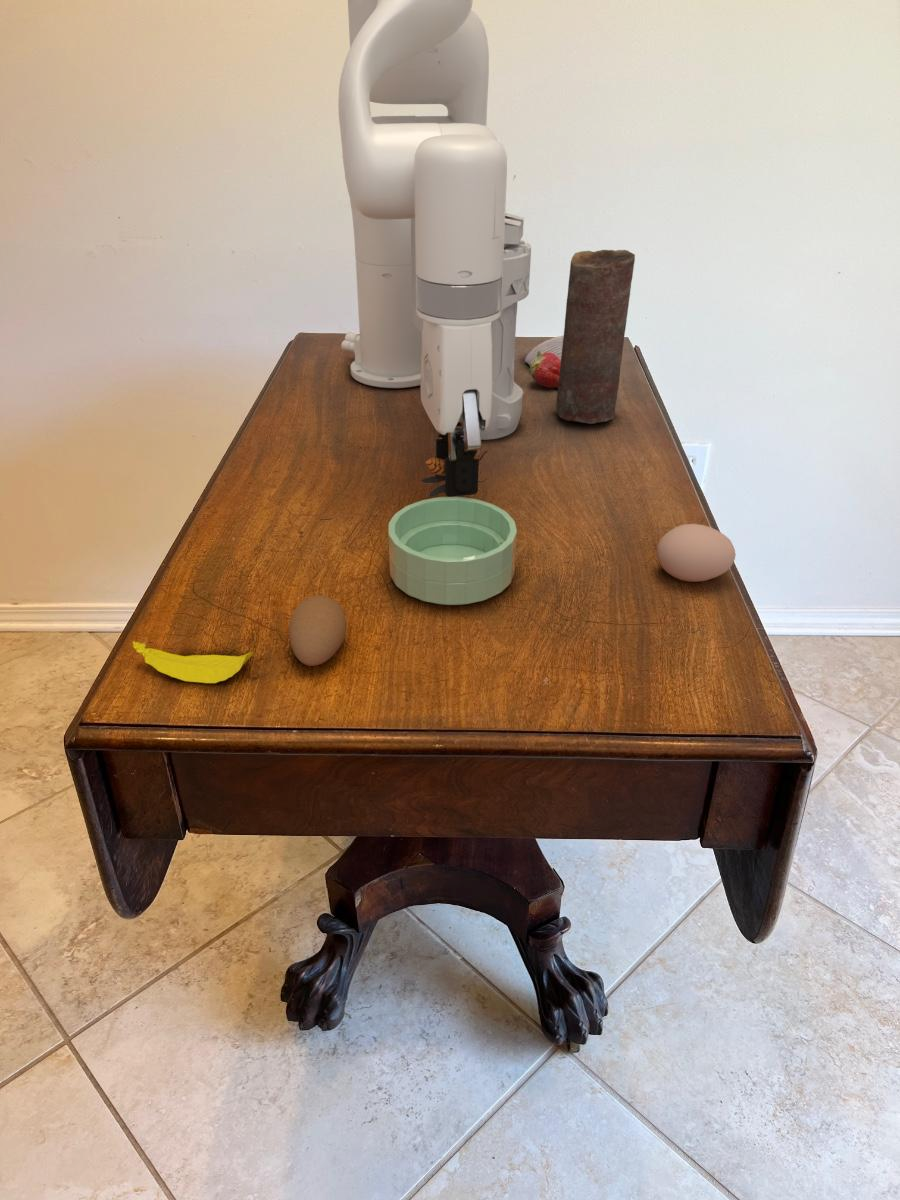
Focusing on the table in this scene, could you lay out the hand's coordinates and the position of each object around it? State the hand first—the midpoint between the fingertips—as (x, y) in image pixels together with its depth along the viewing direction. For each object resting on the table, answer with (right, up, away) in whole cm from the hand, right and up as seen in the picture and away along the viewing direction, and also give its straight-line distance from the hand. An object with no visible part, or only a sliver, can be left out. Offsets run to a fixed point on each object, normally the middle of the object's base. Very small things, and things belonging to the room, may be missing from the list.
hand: (456, 482), depth 84 cm
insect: (0, +4, -3) cm, 5 cm away
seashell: (+16, +23, +39) cm, 47 cm away
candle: (+16, +11, +22) cm, 29 cm away
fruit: (+13, +18, +31) cm, 38 cm away
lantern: (+2, +10, +21) cm, 23 cm away
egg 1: (-11, -12, -16) cm, 23 cm away
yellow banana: (-21, -14, -18) cm, 31 cm away
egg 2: (+18, -7, -9) cm, 21 cm away
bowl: (0, -9, -8) cm, 12 cm away
